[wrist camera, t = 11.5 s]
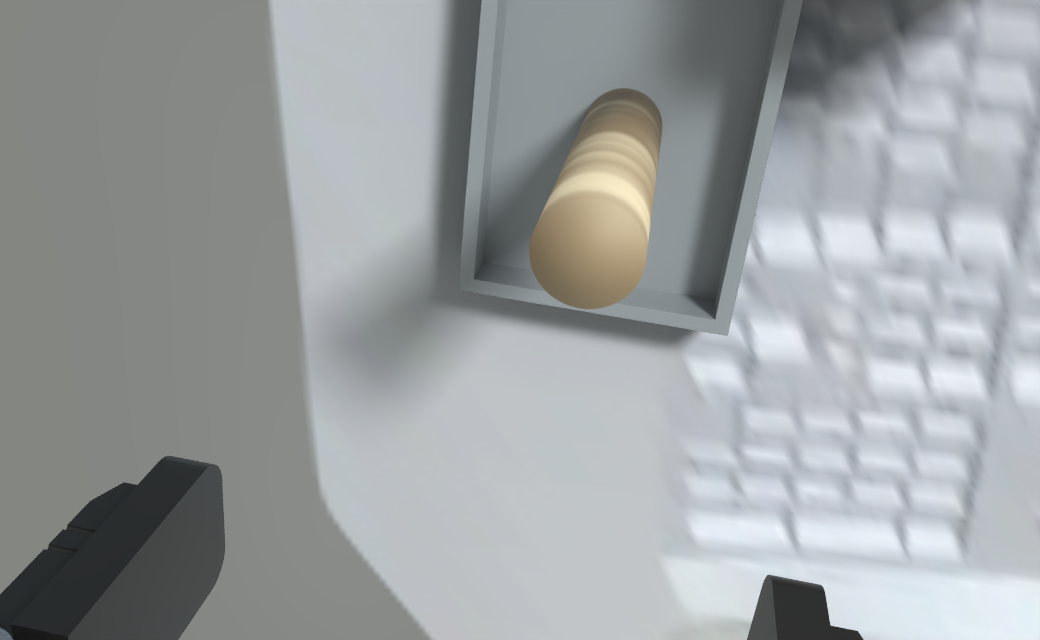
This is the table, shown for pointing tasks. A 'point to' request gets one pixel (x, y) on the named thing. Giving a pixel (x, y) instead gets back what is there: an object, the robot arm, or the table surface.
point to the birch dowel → (601, 205)
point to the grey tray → (683, 150)
